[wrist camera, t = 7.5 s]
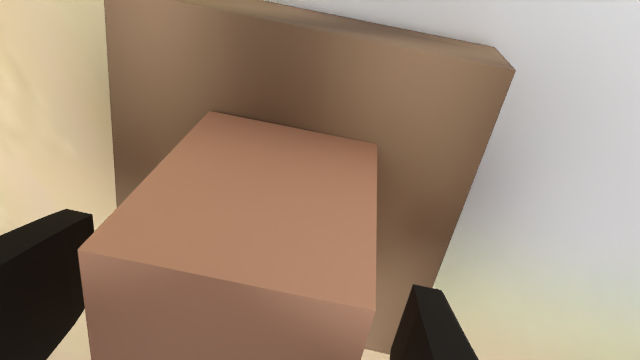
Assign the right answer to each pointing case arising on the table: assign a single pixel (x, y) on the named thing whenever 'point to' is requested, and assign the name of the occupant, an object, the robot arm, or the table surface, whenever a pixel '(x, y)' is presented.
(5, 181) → the table surface
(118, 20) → the walnut slab
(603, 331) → the table surface
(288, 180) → the terracotta block
